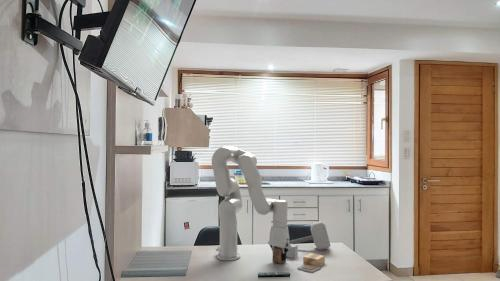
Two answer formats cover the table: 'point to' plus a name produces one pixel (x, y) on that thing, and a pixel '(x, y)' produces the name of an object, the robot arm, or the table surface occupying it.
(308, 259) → the oak base
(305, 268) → the swatch tile
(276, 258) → the walnut block
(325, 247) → the hammer
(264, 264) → the table surface
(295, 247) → the grey block
